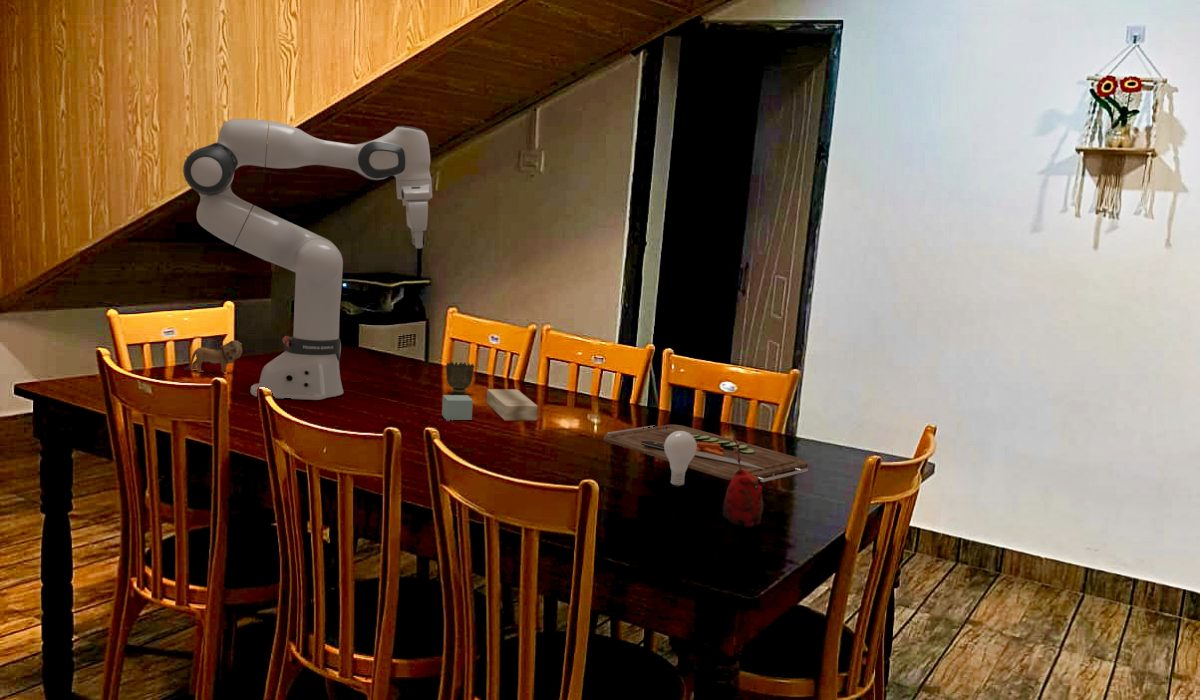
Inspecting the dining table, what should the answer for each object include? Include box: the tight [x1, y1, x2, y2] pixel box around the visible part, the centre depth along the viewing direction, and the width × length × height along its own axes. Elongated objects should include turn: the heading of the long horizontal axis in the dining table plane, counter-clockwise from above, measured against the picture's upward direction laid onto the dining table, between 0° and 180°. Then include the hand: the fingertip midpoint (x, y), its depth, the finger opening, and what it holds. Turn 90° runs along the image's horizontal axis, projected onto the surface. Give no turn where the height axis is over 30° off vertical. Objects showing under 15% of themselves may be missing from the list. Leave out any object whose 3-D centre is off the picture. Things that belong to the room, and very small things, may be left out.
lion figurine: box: [183, 340, 243, 373], centre depth 278 cm, size 15×5×9 cm, turn 103°
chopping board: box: [603, 424, 809, 483], centre depth 231 cm, size 45×27×3 cm, turn 45°
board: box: [485, 388, 539, 421], centre depth 258 cm, size 8×20×4 cm, turn 19°
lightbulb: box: [664, 431, 697, 488], centre depth 201 cm, size 6×6×11 cm
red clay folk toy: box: [722, 437, 764, 528], centre depth 182 cm, size 8×7×15 cm
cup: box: [445, 361, 475, 395], centre depth 274 cm, size 8×7×8 cm
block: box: [441, 394, 474, 422], centre depth 246 cm, size 6×6×5 cm
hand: (417, 246), depth 264 cm, fingers open, 8 cm apart
